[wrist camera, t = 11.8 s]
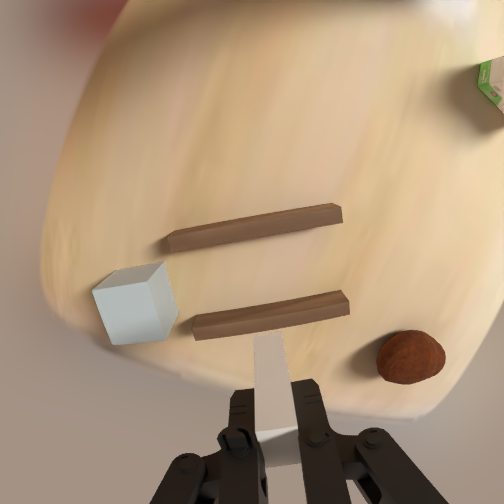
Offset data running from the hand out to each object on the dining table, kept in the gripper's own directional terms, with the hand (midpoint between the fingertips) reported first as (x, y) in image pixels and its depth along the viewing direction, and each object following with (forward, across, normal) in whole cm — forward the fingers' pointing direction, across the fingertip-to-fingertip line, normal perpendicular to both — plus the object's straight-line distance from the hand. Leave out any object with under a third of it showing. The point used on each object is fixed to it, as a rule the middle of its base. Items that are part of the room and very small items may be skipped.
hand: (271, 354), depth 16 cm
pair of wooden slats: (+16, 0, -1) cm, 16 cm away
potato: (+16, +16, -15) cm, 27 cm away
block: (+16, -13, -1) cm, 20 cm away
